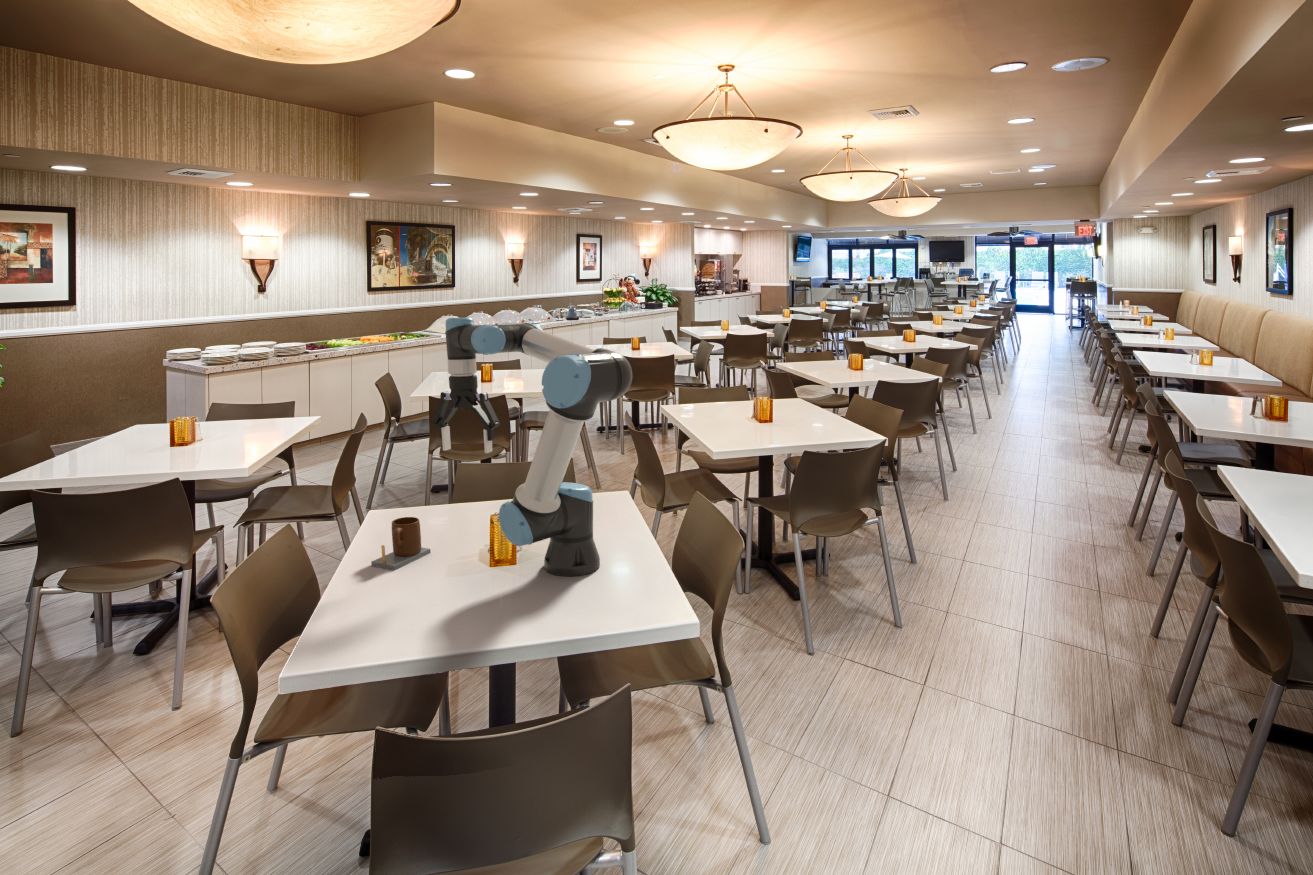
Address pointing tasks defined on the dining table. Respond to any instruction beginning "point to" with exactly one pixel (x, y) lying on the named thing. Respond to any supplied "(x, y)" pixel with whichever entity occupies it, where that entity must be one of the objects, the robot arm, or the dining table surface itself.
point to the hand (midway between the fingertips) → (467, 451)
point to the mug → (406, 536)
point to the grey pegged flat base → (397, 559)
